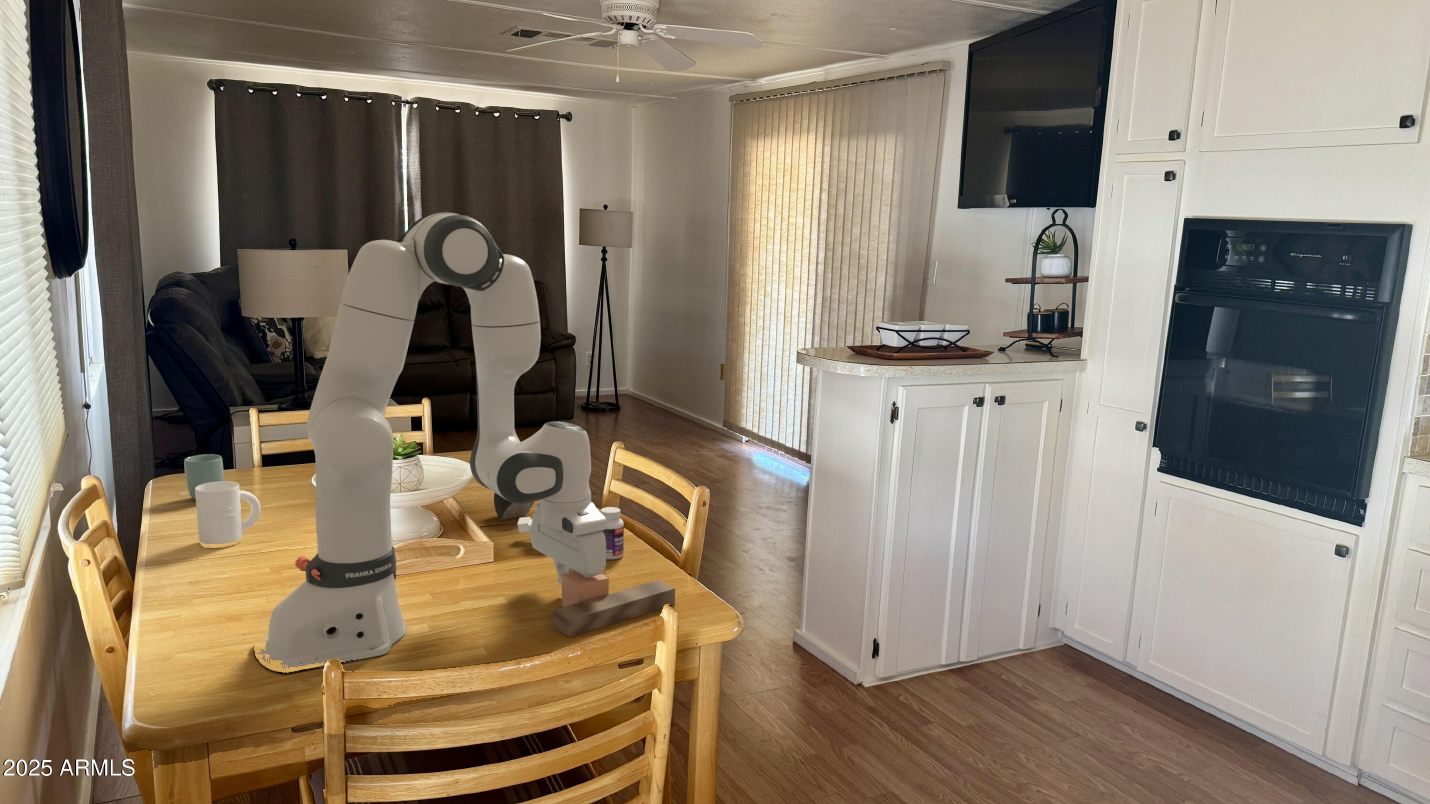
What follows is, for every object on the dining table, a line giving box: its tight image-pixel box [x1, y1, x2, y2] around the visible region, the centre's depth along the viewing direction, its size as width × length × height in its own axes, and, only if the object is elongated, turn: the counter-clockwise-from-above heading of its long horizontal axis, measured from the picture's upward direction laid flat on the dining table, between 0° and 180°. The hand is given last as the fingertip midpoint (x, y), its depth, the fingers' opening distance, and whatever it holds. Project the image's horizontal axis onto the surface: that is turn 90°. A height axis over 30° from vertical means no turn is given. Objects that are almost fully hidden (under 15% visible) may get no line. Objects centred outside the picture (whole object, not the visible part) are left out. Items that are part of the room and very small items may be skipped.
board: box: [552, 579, 676, 638], centre depth 160 cm, size 22×5×3 cm, turn 131°
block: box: [561, 571, 610, 607], centre depth 163 cm, size 6×6×6 cm
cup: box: [183, 453, 225, 500], centre depth 221 cm, size 8×8×10 cm
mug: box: [195, 480, 261, 544], centre depth 193 cm, size 8×12×12 cm
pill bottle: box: [600, 506, 625, 561], centre depth 189 cm, size 5×5×10 cm
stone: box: [493, 492, 535, 521], centre depth 212 cm, size 8×8×10 cm
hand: (566, 585), depth 168 cm, fingers closed
